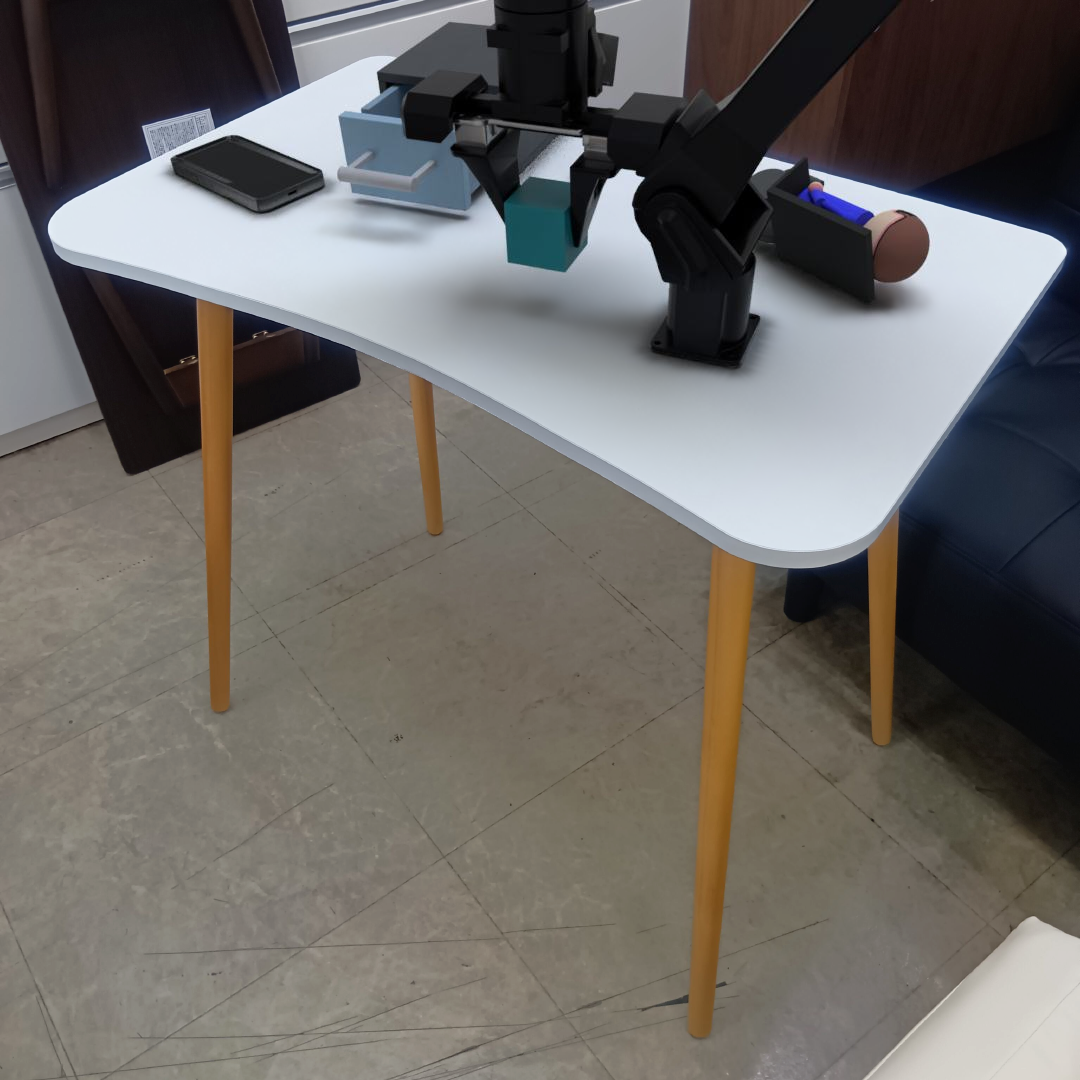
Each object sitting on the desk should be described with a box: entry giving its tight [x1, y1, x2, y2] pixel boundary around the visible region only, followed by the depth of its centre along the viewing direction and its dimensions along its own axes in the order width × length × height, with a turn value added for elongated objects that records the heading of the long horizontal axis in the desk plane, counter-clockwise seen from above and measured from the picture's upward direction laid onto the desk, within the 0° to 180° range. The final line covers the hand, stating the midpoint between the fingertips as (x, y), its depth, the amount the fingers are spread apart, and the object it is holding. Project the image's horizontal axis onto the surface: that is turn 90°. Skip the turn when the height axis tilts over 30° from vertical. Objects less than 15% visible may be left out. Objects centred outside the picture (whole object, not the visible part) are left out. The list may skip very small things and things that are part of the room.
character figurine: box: [750, 156, 931, 306], centre depth 73 cm, size 8×7×15 cm
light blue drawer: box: [336, 83, 481, 212], centre depth 86 cm, size 18×11×7 cm, turn 157°
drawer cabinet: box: [376, 21, 558, 175], centre depth 93 cm, size 15×13×9 cm
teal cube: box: [504, 176, 589, 274], centre depth 69 cm, size 4×4×4 cm
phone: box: [170, 134, 326, 213], centre depth 91 cm, size 8×1×15 cm
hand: (548, 240), depth 69 cm, fingers closed on teal cube, 4 cm apart
